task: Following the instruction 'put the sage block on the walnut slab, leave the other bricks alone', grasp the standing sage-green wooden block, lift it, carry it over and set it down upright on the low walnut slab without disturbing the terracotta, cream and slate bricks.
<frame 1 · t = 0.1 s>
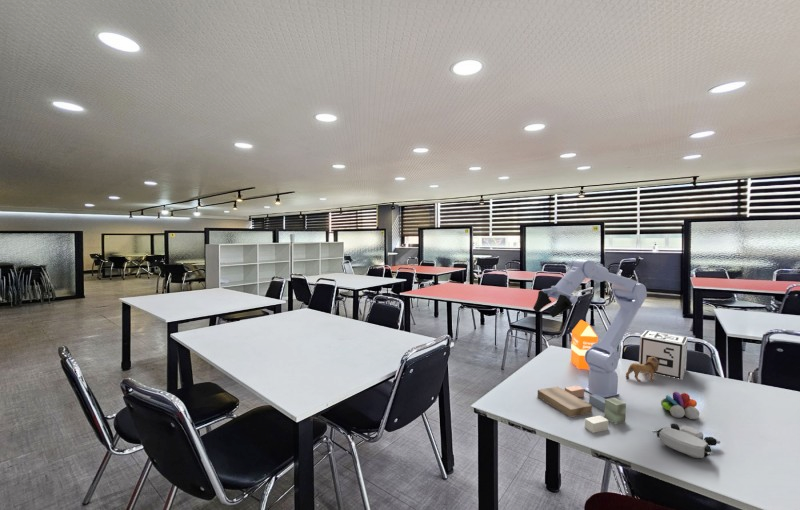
hand: (542, 312, 118), 32 cm above the table, tool tilted 50°, fingers open, 7 cm apart
robot toy: (686, 448, 97), on the table
lion figurine: (641, 379, 143), on the table
slate brick: (599, 406, 119), on the table
sage block: (614, 419, 111), on the table
cream brick: (596, 429, 105), on the table
orange juice: (583, 365, 157), on the table
terracotta brick: (574, 396, 127), on the table
walnut slab: (563, 404, 120), on the table
colorful egg cluster: (679, 414, 115), on the table
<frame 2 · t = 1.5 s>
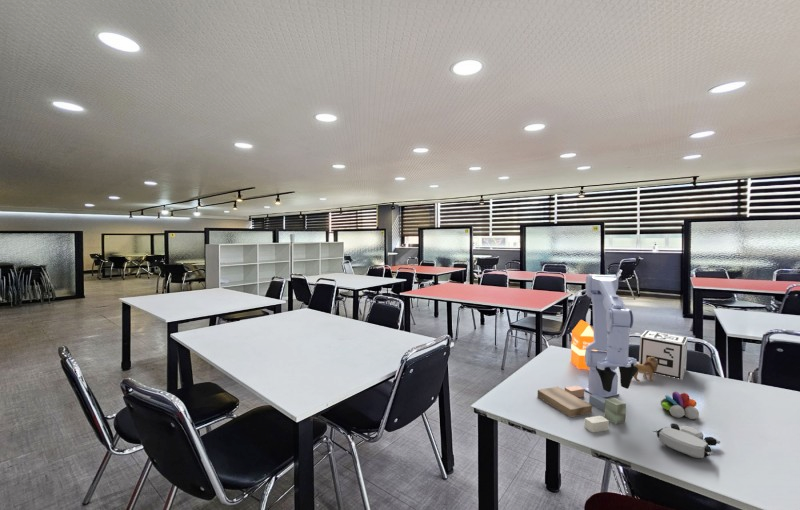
hand: (615, 389, 110), 10 cm above the table, tool pointing down, fingers open, 7 cm apart
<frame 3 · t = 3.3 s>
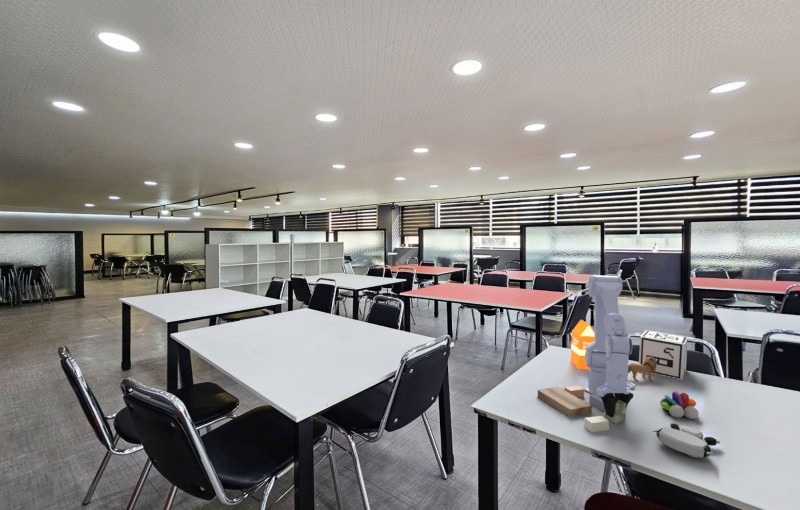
hand: (614, 414, 110), 2 cm above the table, tool pointing down, fingers closed on sage block, 4 cm apart
sage block: (614, 419, 111), on the table, touching gripper
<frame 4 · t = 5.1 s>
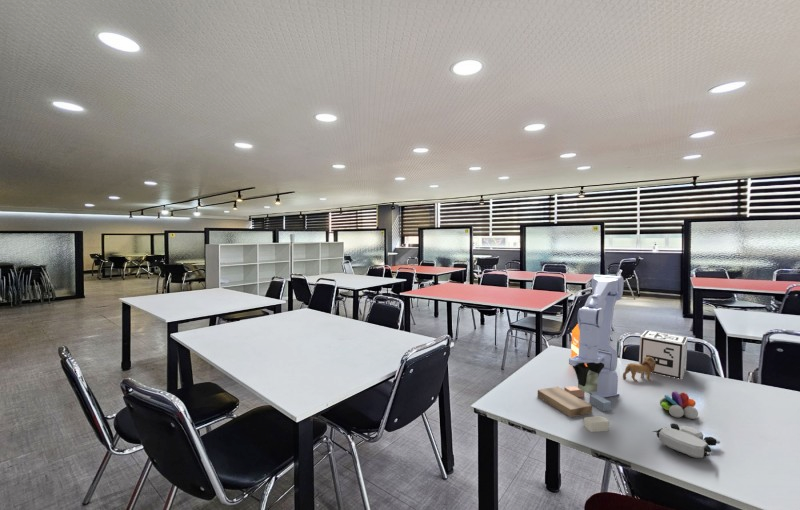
hand: (586, 384, 115), 9 cm above the table, tool pointing down, fingers closed on sage block, 4 cm apart
sage block: (587, 389, 115), point 7 cm above the table, touching gripper
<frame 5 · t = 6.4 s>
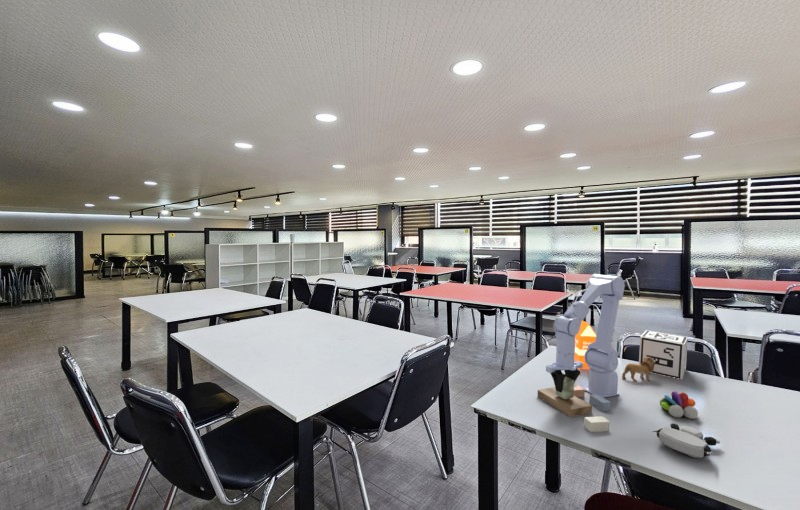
hand: (563, 390, 120), 5 cm above the table, tool pointing down, fingers closed on sage block, 4 cm apart
sage block: (564, 395, 120), point 3 cm above the table, touching gripper
when the fingers open (5 cm above the table, at t = 7.1 s): sage block stays where it is, resting on walnut slab.
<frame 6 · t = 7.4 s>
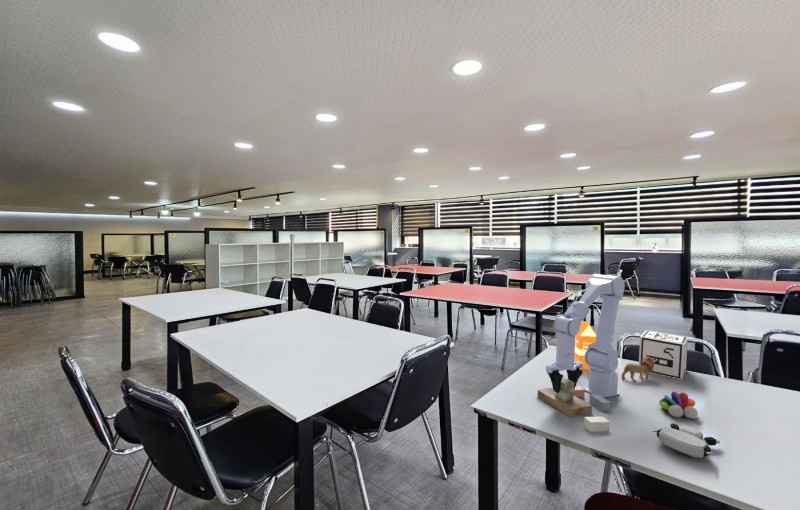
hand: (563, 390, 120), 5 cm above the table, tool pointing down, fingers open, 6 cm apart
sage block: (564, 397, 120), point 2 cm above the table, touching walnut slab
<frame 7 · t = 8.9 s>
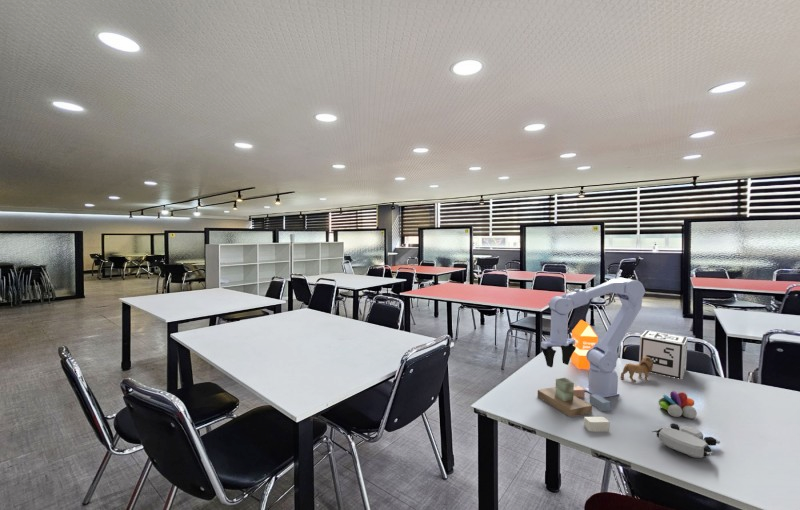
hand: (557, 365, 129), 10 cm above the table, tool pointing down, fingers open, 7 cm apart
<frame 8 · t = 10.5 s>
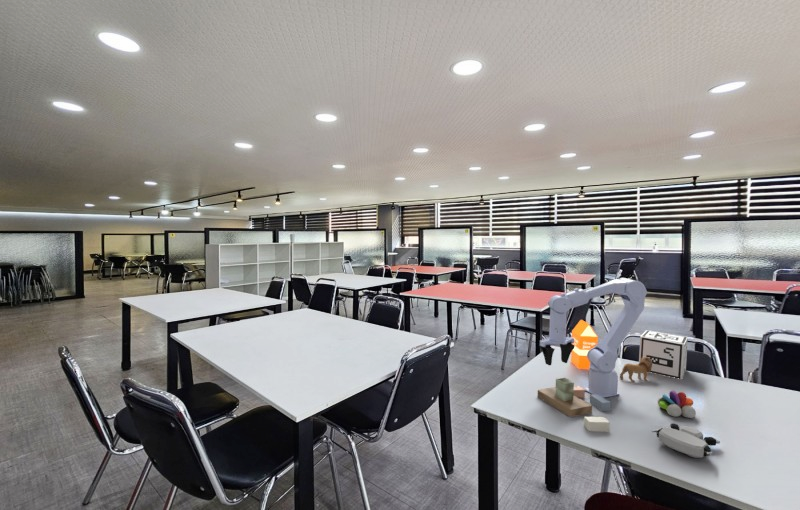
hand: (556, 363, 131), 10 cm above the table, tool pointing down, fingers open, 7 cm apart
at the end: sage block inside the target area on the walnut slab (0.3 cm from its centre), point 2.5 cm above the walnut slab's base; sage block tilted 0°; slate brick moved 0.2 cm from its start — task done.
